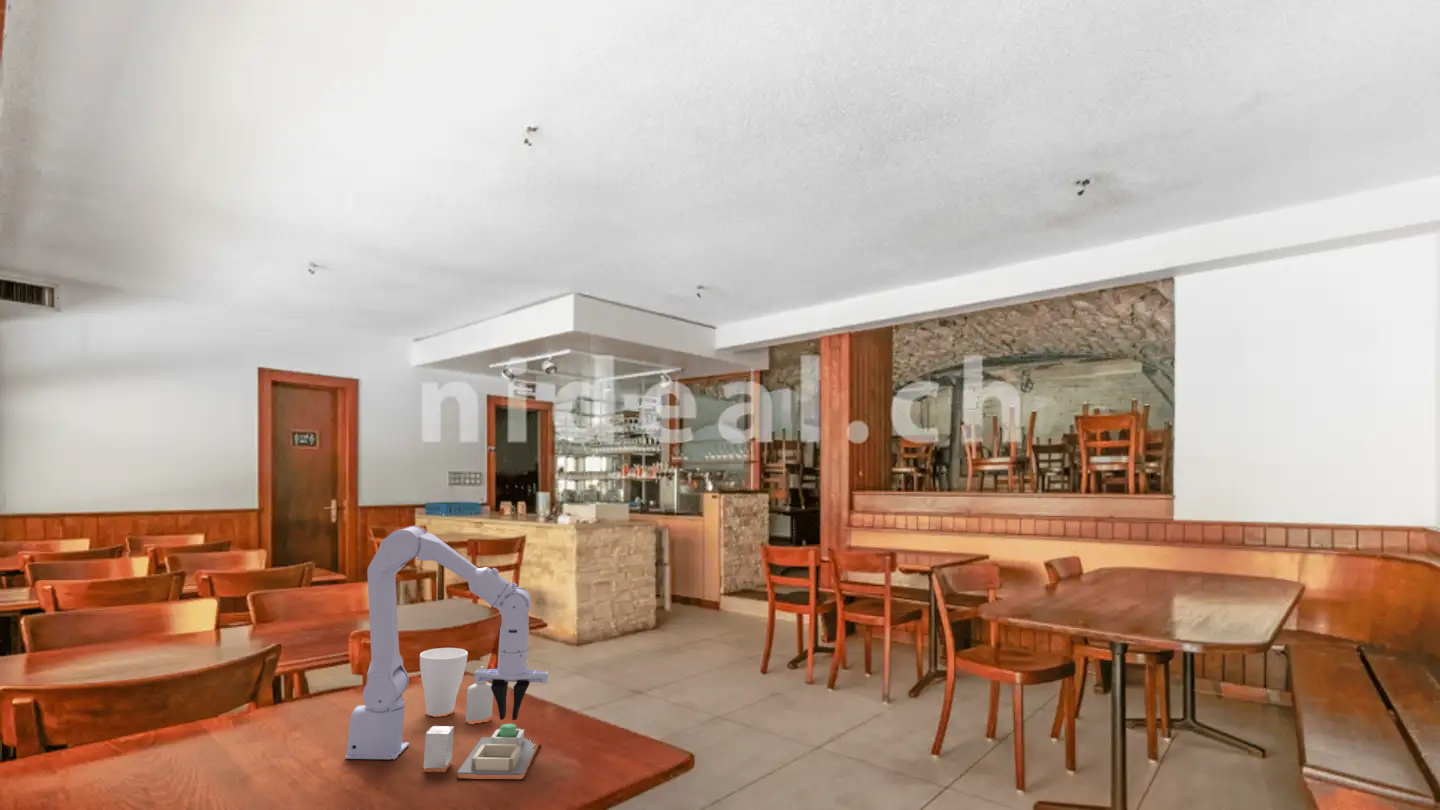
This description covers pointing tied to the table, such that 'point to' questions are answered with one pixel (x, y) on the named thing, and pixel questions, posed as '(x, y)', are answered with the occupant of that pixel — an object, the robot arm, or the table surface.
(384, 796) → the table surface
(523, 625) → the robot arm
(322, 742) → the table surface
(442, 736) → the block
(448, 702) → the cup
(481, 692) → the eye dropper bottle
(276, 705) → the table surface
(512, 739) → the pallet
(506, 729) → the button
